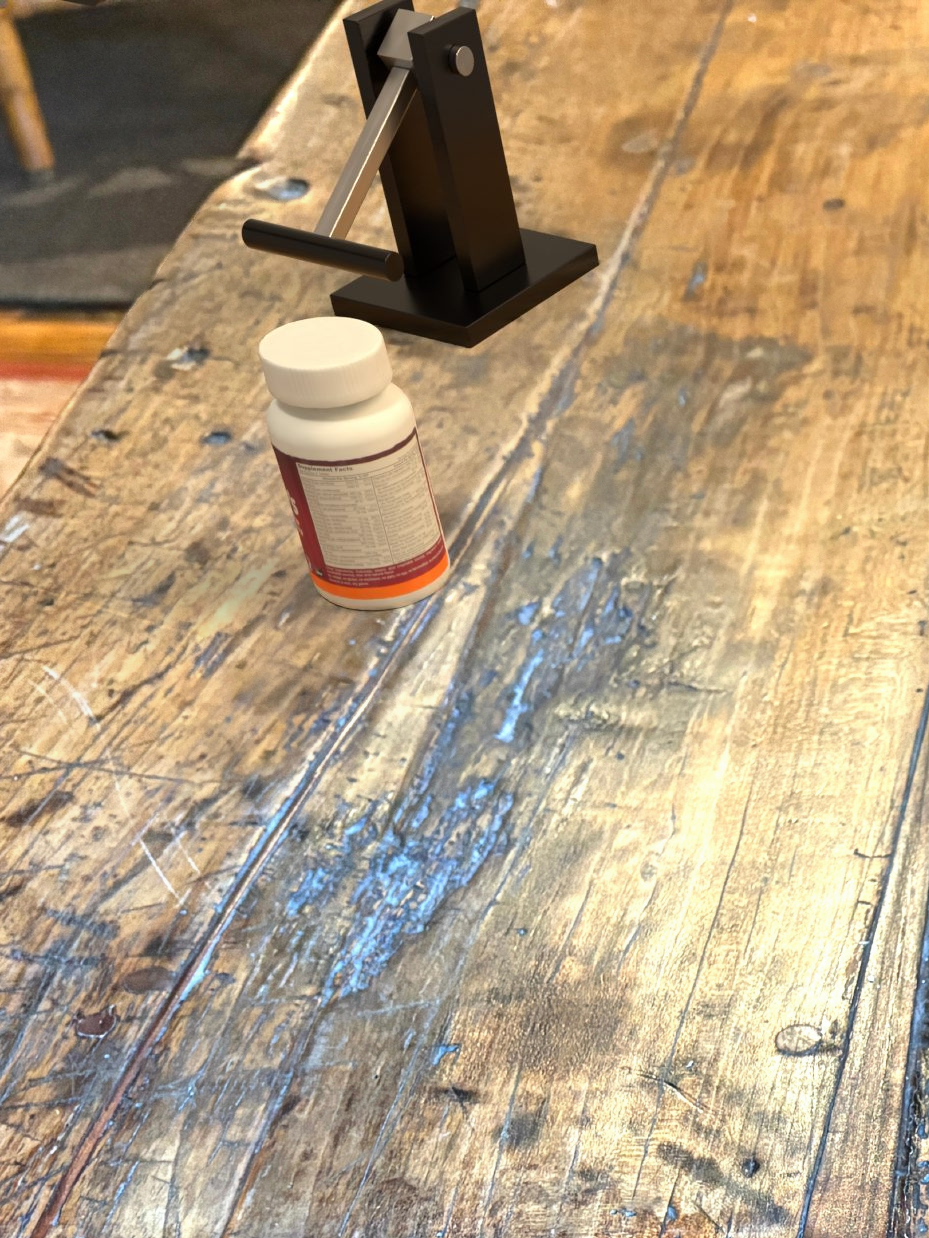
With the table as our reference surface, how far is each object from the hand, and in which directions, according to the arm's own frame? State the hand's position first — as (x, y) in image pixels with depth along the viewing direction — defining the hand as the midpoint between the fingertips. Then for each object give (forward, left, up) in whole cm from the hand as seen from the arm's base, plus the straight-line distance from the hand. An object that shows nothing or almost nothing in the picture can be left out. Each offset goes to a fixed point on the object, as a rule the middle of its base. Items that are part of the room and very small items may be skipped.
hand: (34, 6), depth 109 cm
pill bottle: (+20, -27, -16) cm, 37 cm away
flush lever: (+15, 0, -7) cm, 17 cm away
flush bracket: (+17, +4, -16) cm, 23 cm away
